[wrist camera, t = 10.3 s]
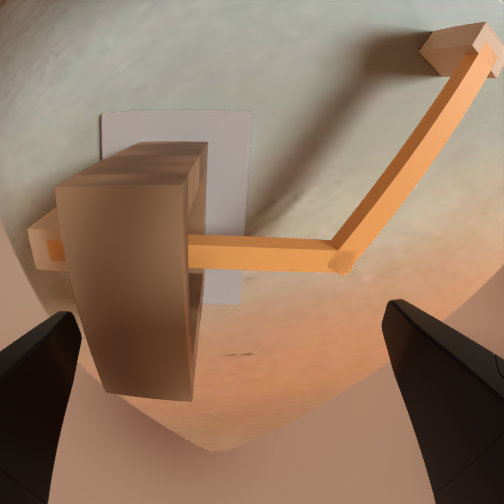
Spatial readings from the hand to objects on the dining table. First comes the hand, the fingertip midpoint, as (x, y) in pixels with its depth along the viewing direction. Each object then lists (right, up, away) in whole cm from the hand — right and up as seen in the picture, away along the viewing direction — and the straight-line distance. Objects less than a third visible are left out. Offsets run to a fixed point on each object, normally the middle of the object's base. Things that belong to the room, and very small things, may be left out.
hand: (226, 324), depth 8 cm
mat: (-4, +4, +11) cm, 13 cm away
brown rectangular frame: (-4, +4, +11) cm, 12 cm away
